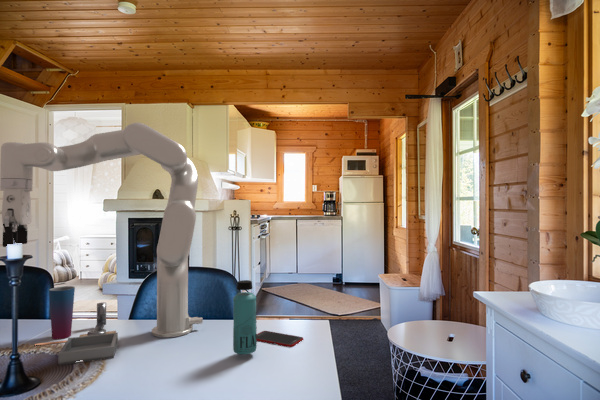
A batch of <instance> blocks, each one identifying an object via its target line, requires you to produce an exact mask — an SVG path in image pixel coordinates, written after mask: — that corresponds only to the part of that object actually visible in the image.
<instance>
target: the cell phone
mask: <svg viewBox="0 0 600 400" xmlns="http://www.w3.org/2000/svg"><path fill="white" fill-rule="evenodd" d="M256 337H257V342H260V341H261V342H260V343H265V342H267V343H266V344H270V343H272V344H271V345H276V344H278V345H277V346H281V345H282V346H281V347H286V348H293V347H295V346H297V345H298V344H300V343H301V342H303V341H304V337H302V336H297V335H292V334H288V333H281V332H274V331H270V330H269V331H268V330H263V331H260V332H258V333H256ZM302 340H303V341H302ZM300 341H301V342H300ZM299 342H300V343H299ZM296 344H297V345H296Z"/></svg>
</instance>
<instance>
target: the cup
mask: <svg viewBox="0 0 600 400" xmlns="http://www.w3.org/2000/svg"><path fill="white" fill-rule="evenodd" d="M75 289H76V287H75V286H71V285H68V286H57V287H53V288H49V289H48V291H49V293H48V295H49V307H50V308H49V310H50V311H49V312H50V325H51V326H50V327H51V340H52V339H53V340H57V341H58V340H65V339H67V338H71V336H72V327H73V315H74V314H73V313H74V304H75V303H74V301H75Z"/></svg>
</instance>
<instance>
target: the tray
mask: <svg viewBox="0 0 600 400" xmlns="http://www.w3.org/2000/svg"><path fill="white" fill-rule="evenodd" d="M118 333H119V332H116V333H109V334H100V335H91V336H82V337H79V336H75V337H68V339H67V341H66V343H63V346H62V348H61V349H60V350H59V352H58V366H63V365H70V364H71V365H72V364H76V363H75V362H76V361H80V360H83V361H85V362H84V363H86V362H93V361H92V360H95V361H101V360H100V359H102V360H107V359H109V360H110V359H114V357H115V355H116V350H117V347H118V343H119V340H118V339H119V338H118Z"/></svg>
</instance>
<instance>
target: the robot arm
mask: <svg viewBox="0 0 600 400" xmlns="http://www.w3.org/2000/svg"><path fill="white" fill-rule="evenodd" d="M187 153H188V152H187V151H186V149H185V147H184V146H182V144H180V143H179V142H177V141H175V140H173V139H171V138H170V137H168V136H166V135H165V134H163V133H161V132H159V131H158V130H156V129H154V128H153V127H151V126H149V125H147V124H145V123H142V122H132V123H130V124H128V125H126V126H125V128H124V129H119V130H113V131H107V132H100V133H99V132H98V133H95V134H93V135H91V136H90V137H88V139H85V140H84V141H82V142H79V143H74V144H69V145H64V146H56V145H54V144H52V143H49V142H34V143H33V142H31V143H23V142H16V141H15V142H13V141H12V142H11V141H10V142H4V143H2V144H1V146H0V191H2V192H3V194H2V201H1V203H2V204H1V222H2V223H1V224H2V247H3V248H7V247H6V246H7V244H13V238H14V240H15V242H16V243H22V244H21V245H27V244H28V225H31V223H32V201H31V200H32V199H31V194H30V193H31V192H33V178H34V177H33V176H34V175H33V174H34V173H33V171H34V168H38V169H39V168H40V169H43V170H47V171H50V172H61V171H67V170H72V169H77V168H82V167H86V166H90V165H95V164H99V163H103V162H107V161H112V160H117V159H122V158H123V159H124V158H128V157H133V156H138V155H139V156H140V155H143V156H145V157H147V158H148V159H150V160H151V161H154V162H155V163H157V164H159V166H161V168H162V169H163V170H164V171H166V172H168V174H169V175H170V179H171V183H170V188H169V195H168V200H167V204H166V207H165V209H164V211H163V217H162V221H161V226H160V232H159V238H158V241H157V242H158V243H157V246H156V259H157V260H156V261H157V262H156V263H157V264H156V265H157V266H156V270H157V271H156V280H157V281H156V325H155V326H154V327H152V329H151V335H152V336H154V337H156V338H176V337H181V336H184V335H188V334H190V333H191V332H193V330H194V329H193V328H194V327H193V325H196V324H197V325H199V324H200V325H201V324H203V323H204V322H203V321H204V320H203V317H199V316H194V317H191V316H190V314H189V312H188V311H189V306H188V305H189V303H188V302H189V296H188V295H189V255H190V251H191V247H192V244H193V243H192V241H193V237H194V232H195V226H196V221H197V213H196V209H195V205H196V200H197V194H198V186H199V176H198V171H197V169H196V167H195V164H194V163H193V162H192V161H191V159H190V158H189V157H188V154H187Z"/></svg>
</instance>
